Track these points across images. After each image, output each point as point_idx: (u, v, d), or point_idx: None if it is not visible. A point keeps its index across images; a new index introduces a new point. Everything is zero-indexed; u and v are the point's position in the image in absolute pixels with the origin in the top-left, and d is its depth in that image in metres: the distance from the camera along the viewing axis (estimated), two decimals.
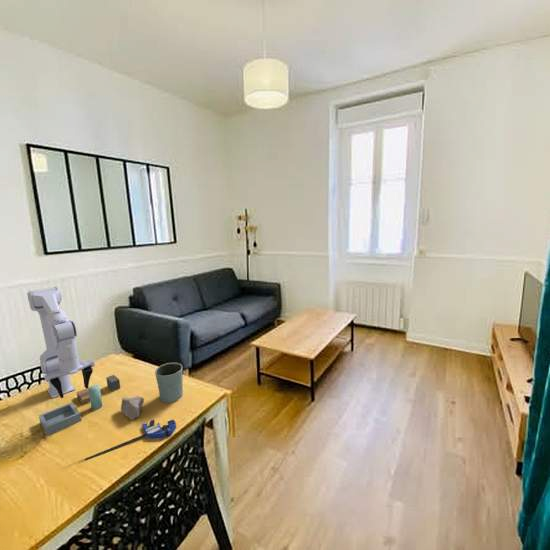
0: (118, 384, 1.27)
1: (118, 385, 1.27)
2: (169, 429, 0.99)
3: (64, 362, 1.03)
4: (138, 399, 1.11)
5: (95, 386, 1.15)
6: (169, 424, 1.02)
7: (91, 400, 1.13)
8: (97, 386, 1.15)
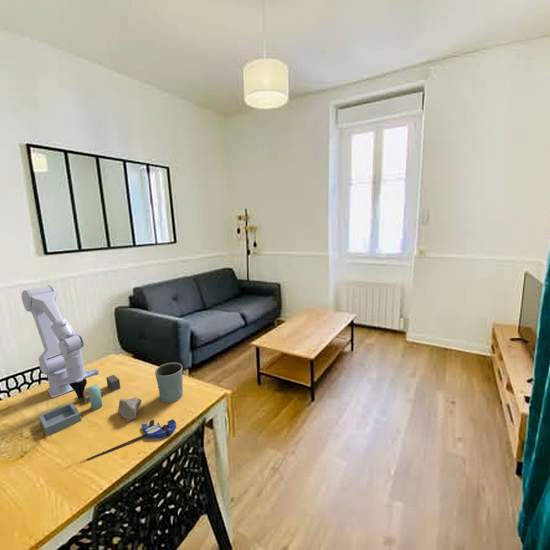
0: (118, 384, 1.27)
1: (118, 385, 1.27)
2: (169, 429, 0.99)
3: (71, 371, 1.14)
4: (135, 400, 1.10)
5: (95, 386, 1.15)
6: (169, 424, 1.02)
7: (91, 400, 1.13)
8: (97, 386, 1.15)
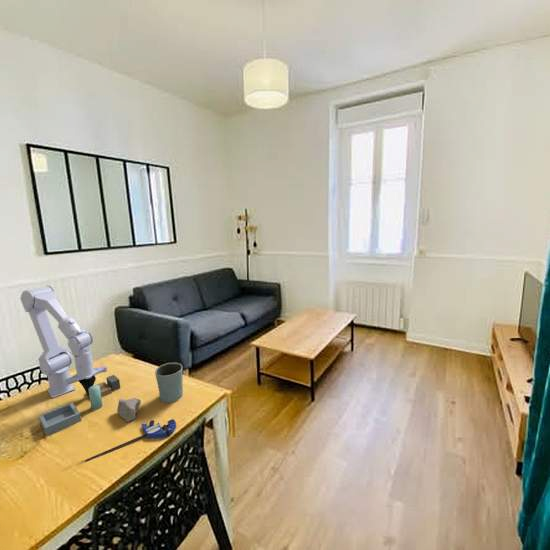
0: (118, 384, 1.27)
1: (118, 385, 1.27)
2: (169, 429, 0.99)
3: (81, 368, 1.17)
4: (134, 401, 1.10)
5: (95, 386, 1.15)
6: (169, 424, 1.02)
7: (91, 400, 1.13)
8: (97, 386, 1.15)
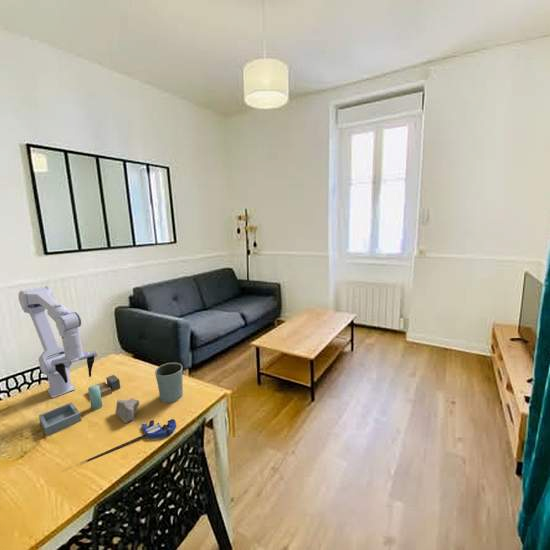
0: (118, 384, 1.27)
1: (118, 385, 1.27)
2: (170, 428, 1.00)
3: (67, 350, 1.11)
4: (133, 402, 1.09)
5: (95, 386, 1.15)
6: (169, 423, 1.02)
7: (91, 400, 1.13)
8: (97, 386, 1.15)
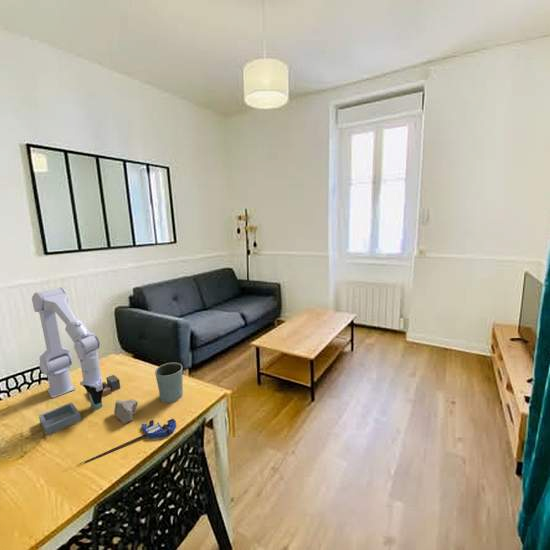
0: (118, 384, 1.27)
1: (118, 385, 1.27)
2: (170, 428, 1.00)
3: None
4: (131, 402, 1.09)
5: None
6: (169, 423, 1.02)
7: (91, 400, 1.13)
8: None
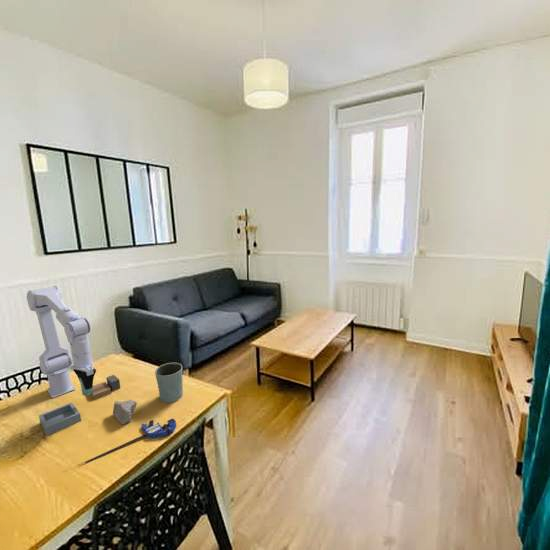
0: (118, 384, 1.27)
1: (118, 385, 1.27)
2: (170, 428, 1.00)
3: None
4: (130, 403, 1.09)
5: None
6: (169, 423, 1.02)
7: (82, 385, 1.10)
8: None
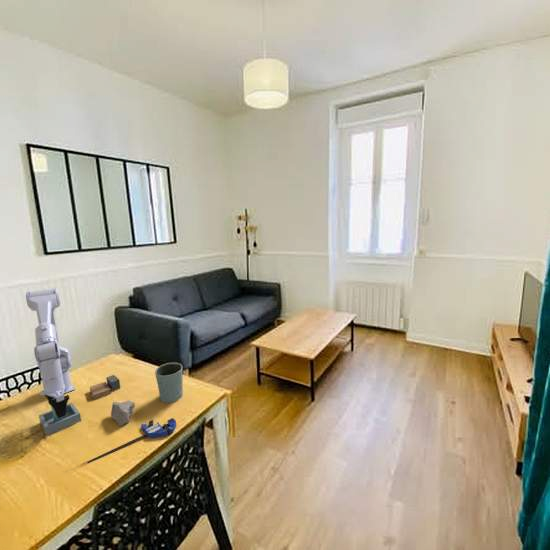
0: (118, 384, 1.27)
1: (118, 385, 1.27)
2: (170, 427, 1.00)
3: None
4: (128, 404, 1.08)
5: None
6: (169, 423, 1.02)
7: (53, 413, 1.05)
8: None
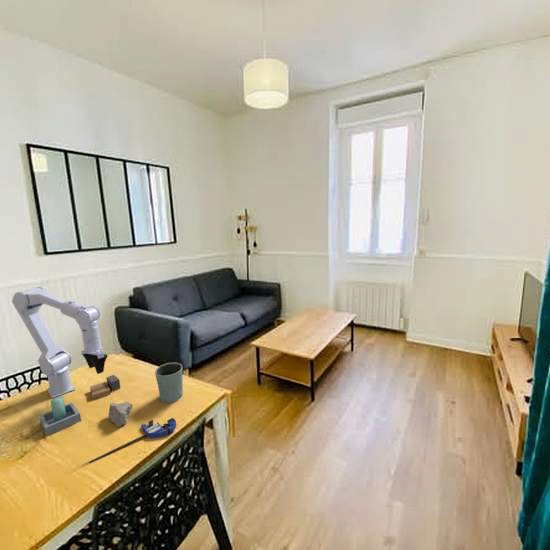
0: (118, 384, 1.27)
1: (118, 385, 1.27)
2: (170, 427, 1.00)
3: None
4: (126, 405, 1.07)
5: (58, 398, 1.07)
6: (169, 422, 1.02)
7: (54, 413, 1.05)
8: (61, 398, 1.07)
